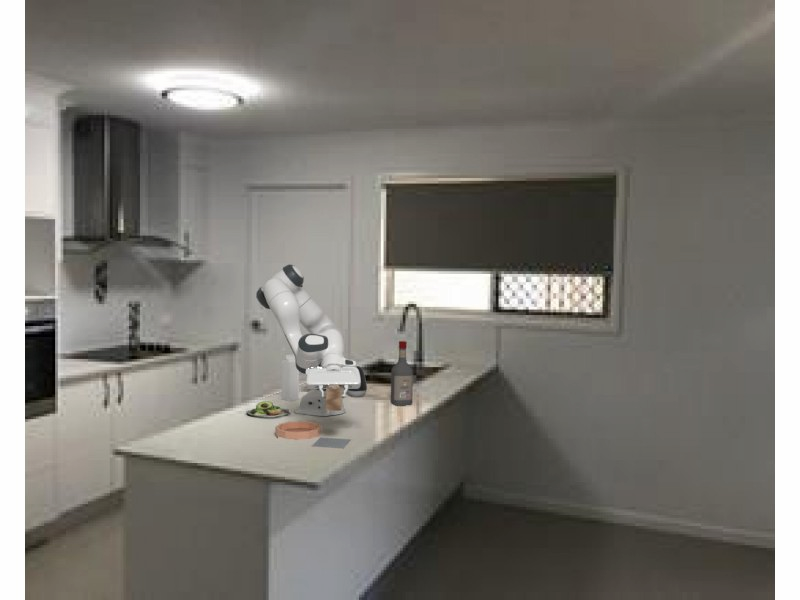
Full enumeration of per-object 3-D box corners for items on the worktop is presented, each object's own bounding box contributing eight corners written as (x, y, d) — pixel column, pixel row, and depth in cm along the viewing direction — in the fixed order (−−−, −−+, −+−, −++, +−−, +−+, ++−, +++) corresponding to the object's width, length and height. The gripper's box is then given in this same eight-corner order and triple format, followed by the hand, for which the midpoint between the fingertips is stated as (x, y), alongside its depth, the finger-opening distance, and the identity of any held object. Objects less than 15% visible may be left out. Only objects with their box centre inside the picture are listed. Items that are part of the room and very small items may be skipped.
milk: (298, 399, 320) (299, 354, 318) (289, 401, 315) (290, 355, 314) (290, 397, 324) (291, 353, 322) (281, 399, 319) (281, 354, 318)
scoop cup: (326, 410, 239) (326, 385, 238) (325, 407, 245) (326, 382, 244) (341, 410, 240) (341, 385, 239) (341, 407, 245) (341, 382, 245)
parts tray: (311, 448, 238) (311, 446, 238) (320, 440, 250) (320, 437, 250) (343, 451, 236) (343, 448, 236) (351, 442, 248) (351, 439, 248)
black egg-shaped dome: (343, 397, 327) (344, 367, 326) (350, 393, 337) (350, 363, 336) (363, 398, 324) (363, 368, 323) (369, 394, 334) (369, 365, 333)
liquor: (413, 405, 312) (414, 342, 310) (395, 406, 309) (396, 343, 307) (407, 401, 320) (408, 340, 318) (389, 402, 318) (390, 340, 316)
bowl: (269, 440, 248) (269, 430, 248) (284, 428, 265) (284, 420, 265) (313, 443, 246) (313, 433, 245) (325, 431, 262) (325, 422, 262)
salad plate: (301, 413, 292) (302, 403, 292) (275, 422, 277) (275, 411, 276) (267, 408, 302) (268, 398, 301) (240, 416, 286) (240, 405, 286)
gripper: (305, 361, 247) (305, 393, 238) (360, 361, 249) (361, 392, 240) (305, 371, 251) (305, 402, 242) (359, 371, 254) (360, 401, 245)
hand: (333, 397), depth 241 cm, fingers closed on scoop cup, 6 cm apart
